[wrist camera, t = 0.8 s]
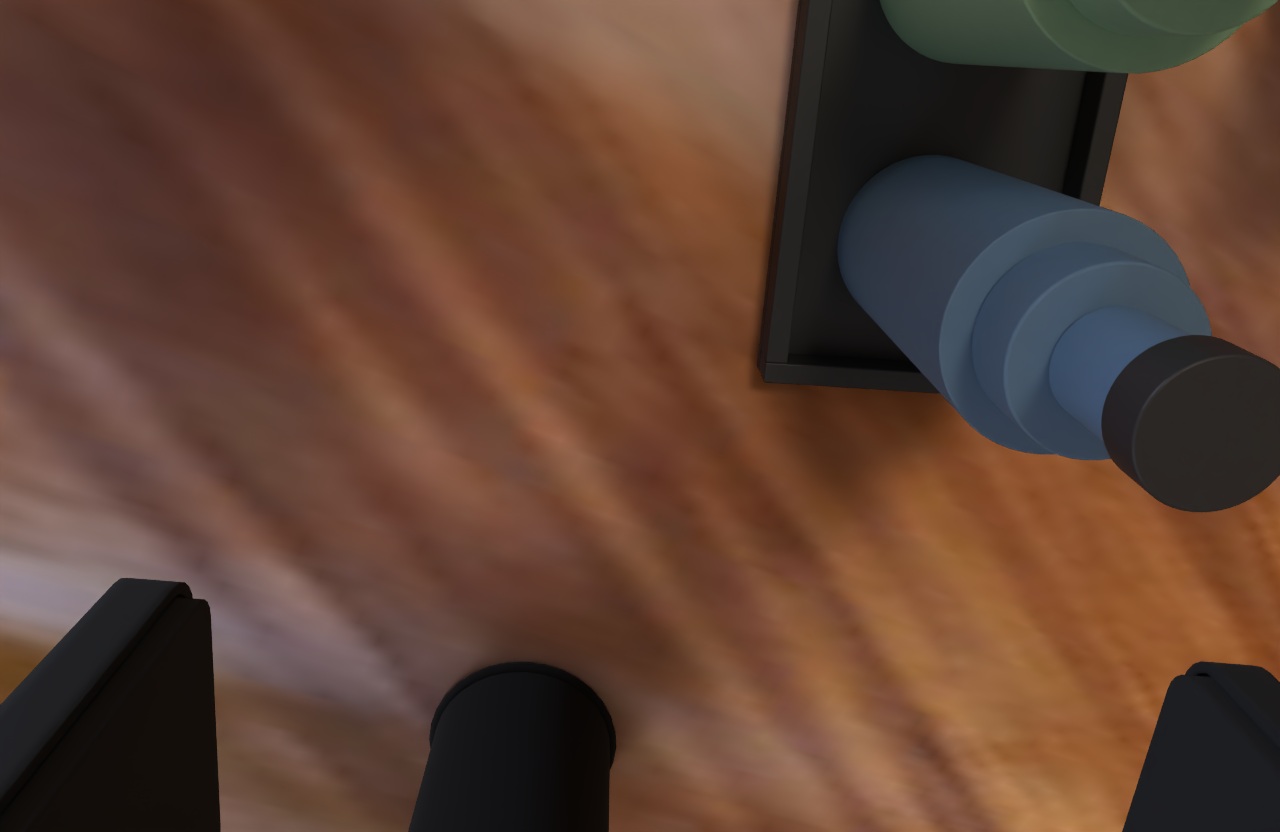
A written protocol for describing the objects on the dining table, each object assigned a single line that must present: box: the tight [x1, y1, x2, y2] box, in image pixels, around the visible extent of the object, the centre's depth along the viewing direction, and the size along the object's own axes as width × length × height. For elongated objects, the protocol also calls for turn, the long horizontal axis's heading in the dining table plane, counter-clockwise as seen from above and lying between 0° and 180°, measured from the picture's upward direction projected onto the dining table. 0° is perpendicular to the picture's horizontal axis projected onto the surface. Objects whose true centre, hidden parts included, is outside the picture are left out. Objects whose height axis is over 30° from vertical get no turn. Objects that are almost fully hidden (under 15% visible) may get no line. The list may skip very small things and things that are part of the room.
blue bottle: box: [837, 155, 1280, 512], centre depth 29 cm, size 6×6×20 cm
